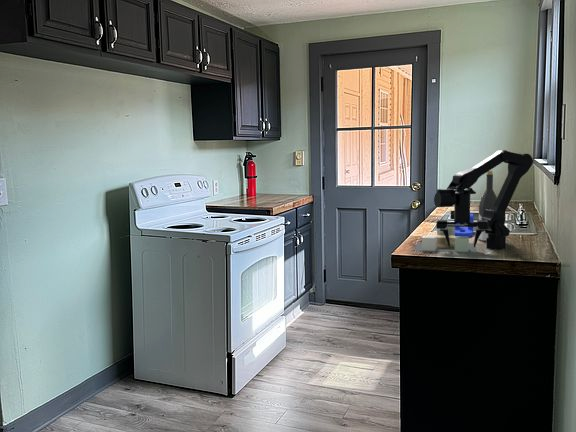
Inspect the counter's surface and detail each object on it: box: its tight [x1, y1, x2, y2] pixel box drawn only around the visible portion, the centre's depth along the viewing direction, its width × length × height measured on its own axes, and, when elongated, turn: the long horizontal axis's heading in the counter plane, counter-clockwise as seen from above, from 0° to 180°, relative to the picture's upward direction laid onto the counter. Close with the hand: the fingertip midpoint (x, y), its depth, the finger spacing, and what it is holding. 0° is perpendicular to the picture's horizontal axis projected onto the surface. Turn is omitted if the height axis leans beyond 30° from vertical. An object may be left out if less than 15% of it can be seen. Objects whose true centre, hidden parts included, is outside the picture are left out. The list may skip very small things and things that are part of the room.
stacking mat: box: [413, 227, 478, 254], centre depth 216 cm, size 23×20×9 cm
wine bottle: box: [478, 170, 498, 243], centre depth 227 cm, size 8×8×30 cm
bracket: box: [455, 213, 475, 238], centre depth 251 cm, size 18×8×9 cm, turn 159°
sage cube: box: [455, 236, 470, 253], centre depth 209 cm, size 5×5×5 cm
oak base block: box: [436, 234, 455, 248], centre depth 218 cm, size 7×7×4 cm
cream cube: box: [421, 235, 437, 252], centre depth 212 cm, size 5×5×5 cm
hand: (461, 246), depth 209 cm, fingers open, 9 cm apart
